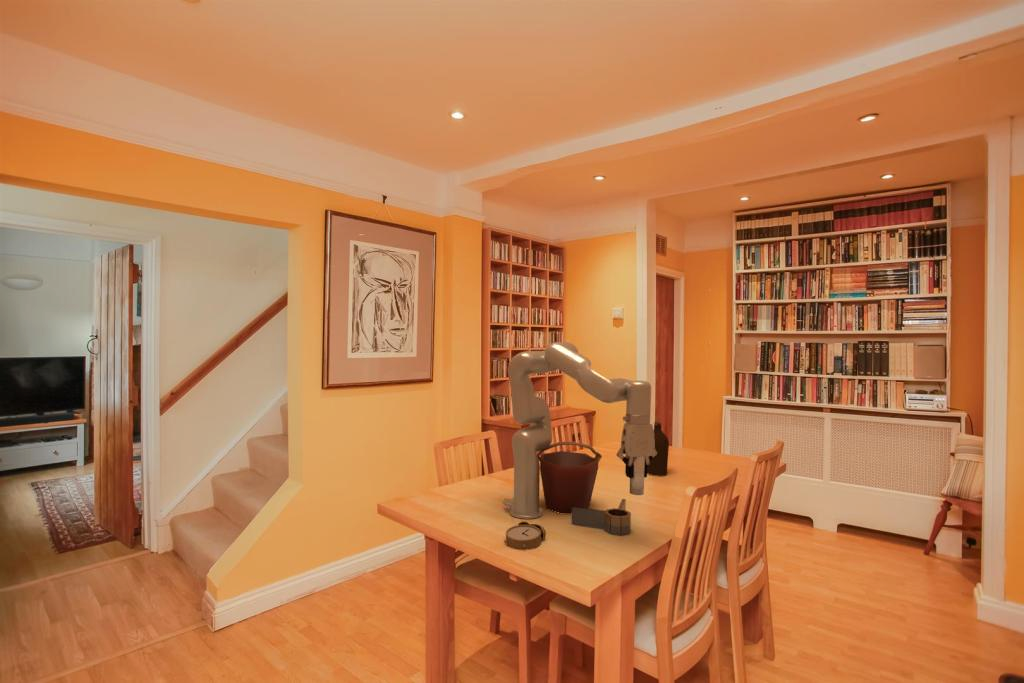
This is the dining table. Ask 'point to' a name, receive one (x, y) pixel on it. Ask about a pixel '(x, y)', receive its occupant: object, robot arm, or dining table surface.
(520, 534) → the alarm clock
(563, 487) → the bucket
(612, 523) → the hinge
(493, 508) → the dining table surface
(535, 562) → the dining table surface
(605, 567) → the dining table surface
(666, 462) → the olive oil
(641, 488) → the hinge pin
